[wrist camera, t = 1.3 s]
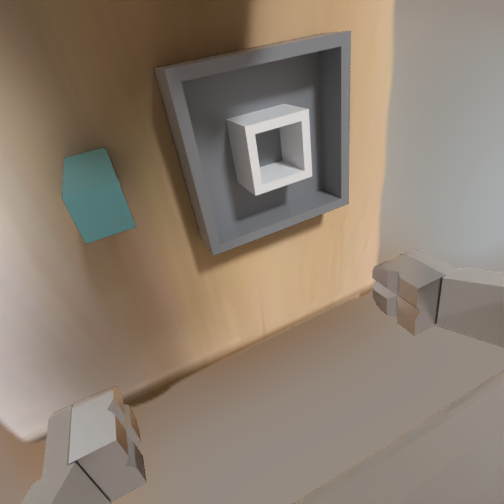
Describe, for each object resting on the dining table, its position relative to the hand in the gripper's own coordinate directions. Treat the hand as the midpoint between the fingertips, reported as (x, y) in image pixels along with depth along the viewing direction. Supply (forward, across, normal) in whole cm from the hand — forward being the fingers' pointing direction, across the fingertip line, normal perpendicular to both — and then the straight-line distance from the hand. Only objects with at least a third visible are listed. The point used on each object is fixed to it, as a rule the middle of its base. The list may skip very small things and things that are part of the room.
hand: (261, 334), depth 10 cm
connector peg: (+32, +5, 0) cm, 32 cm away
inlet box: (+32, -14, +3) cm, 35 cm away
